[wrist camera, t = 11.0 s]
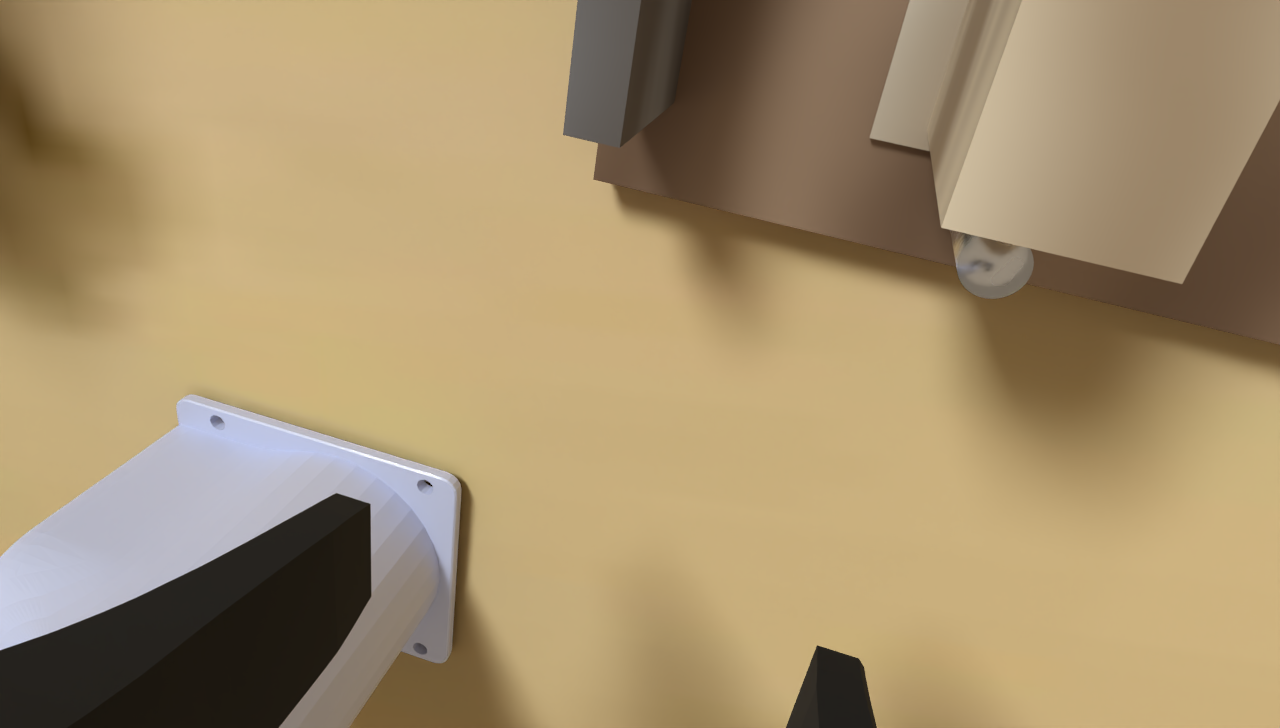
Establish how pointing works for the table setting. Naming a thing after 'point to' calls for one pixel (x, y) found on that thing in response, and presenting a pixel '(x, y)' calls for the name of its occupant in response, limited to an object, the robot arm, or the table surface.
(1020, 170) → the beige wooden block
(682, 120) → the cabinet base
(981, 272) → the hinge pins
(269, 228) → the table surface
